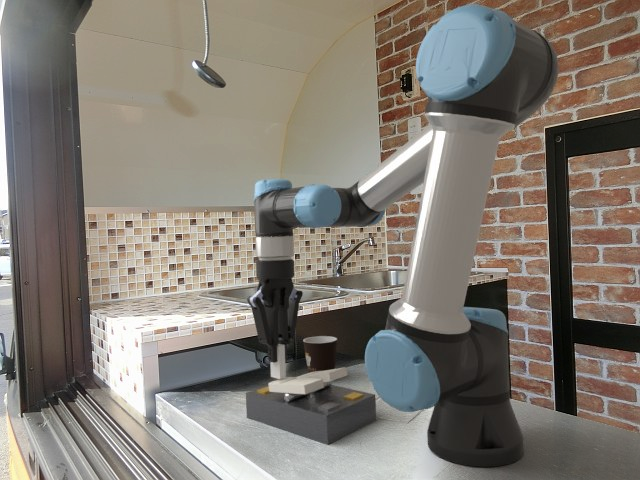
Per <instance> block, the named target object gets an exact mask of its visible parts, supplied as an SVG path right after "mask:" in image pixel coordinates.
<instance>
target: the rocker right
mask: <svg viewBox="0 0 640 480" xmlns="http://www.w3.org/2000/svg"><path fill="white" fill-rule="evenodd" d="M346 376H348V372H347V368H346V367H340V368H335V369H332V370H326V371H316V372H310V373H308V372H307V373H304V374H301V375H298V376H296V377H297V378H313V379H323V382H329V381H331V382H333V381H336V380H338V379H341V378H343V377H346Z"/></svg>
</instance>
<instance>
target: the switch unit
mask: <svg viewBox="0 0 640 480" xmlns="http://www.w3.org/2000/svg"><path fill="white" fill-rule="evenodd" d="M332 382H333V381H329V382H323V384H324V388H321V389H319V390H316V391H313V392H310V393H308V394H294V393H280V392H269V385H266V386H262V387H260V388H256V389H254V390H250V391H248V392H245V406H246V418H247V419H250V420H253V421H256V422H259V423H261V424H264V425H268V426H271V427H273V428H276V429H280V430H283V431H286V432H288V433H292V434H294V435H298V436H300V437H303V438H306V439H310V440H312V441H315V442H318V443H321V444H324V445H328V446H329V445H330V444H332V443H335V442H337V441H338V440H340V439H342V438H344V437H346V436H348V435H350V434H352V433H354V432H356V431H358V430H360V429H362V428H365V427H366V426H369V425H370V424H372V423H374V422H376V421H377V418H376V416H377V405H376V404H377V402H376V399H375V398H376V394H374V393H370V392H365V391H361V390H356V389H351V388H348V387H343V386H338V385H334V384H333V383H332Z"/></svg>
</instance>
